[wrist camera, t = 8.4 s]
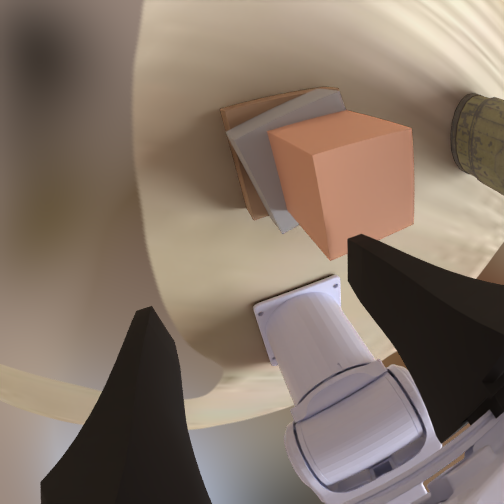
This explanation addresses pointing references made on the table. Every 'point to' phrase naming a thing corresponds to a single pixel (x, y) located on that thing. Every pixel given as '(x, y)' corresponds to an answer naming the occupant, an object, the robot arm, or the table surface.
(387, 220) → the terracotta block
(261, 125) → the tower middle
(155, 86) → the table surface
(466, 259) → the table surface
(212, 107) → the table surface
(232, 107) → the tower base
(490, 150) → the stone statue
